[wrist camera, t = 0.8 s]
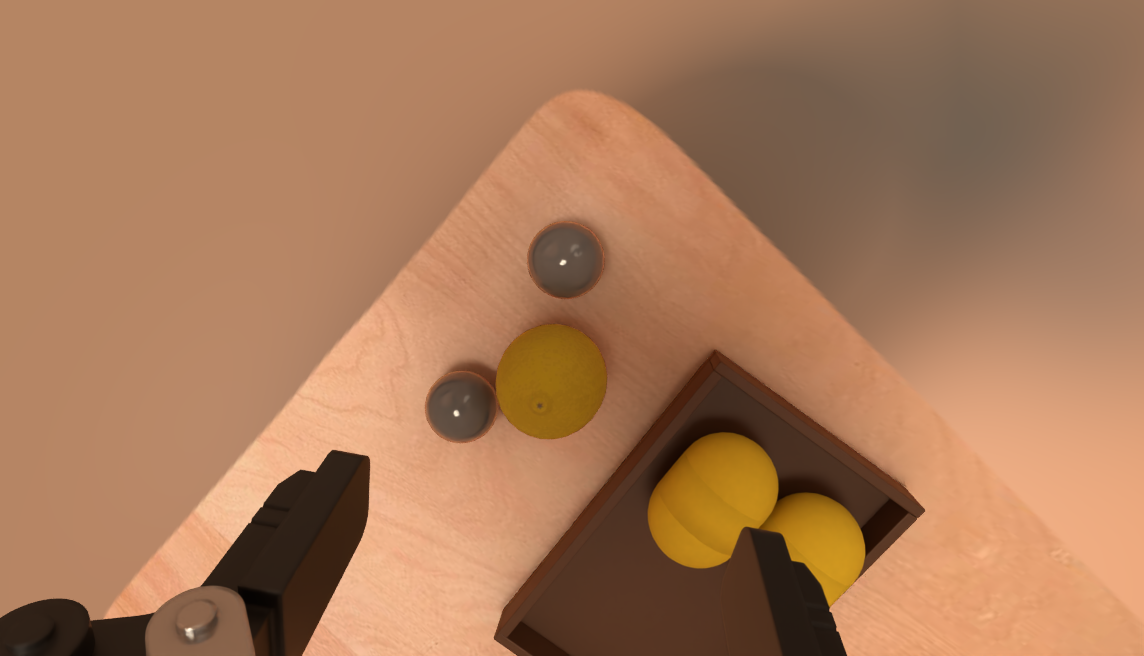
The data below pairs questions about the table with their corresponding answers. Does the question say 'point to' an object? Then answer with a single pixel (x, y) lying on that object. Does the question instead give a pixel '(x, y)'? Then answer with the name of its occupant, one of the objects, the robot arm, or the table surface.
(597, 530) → the tray
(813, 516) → the yellow banded capsule
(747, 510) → the yellow ribbed oblong body
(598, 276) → the glossy gray ball
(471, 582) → the table surface
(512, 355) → the lemon
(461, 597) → the table surface
